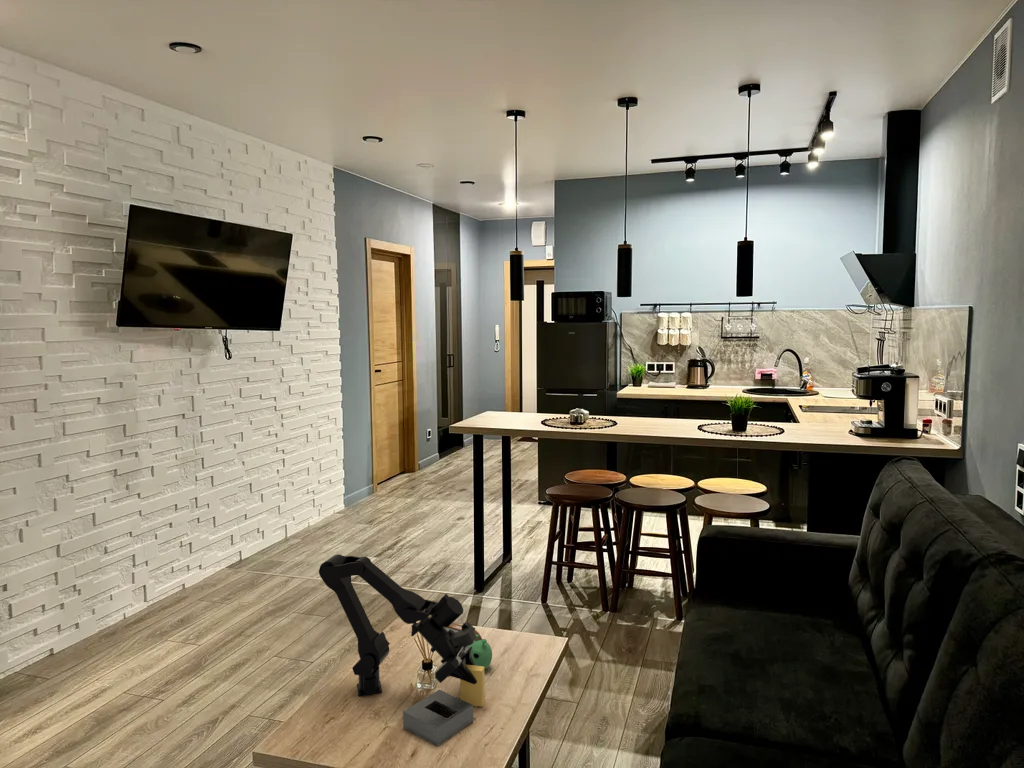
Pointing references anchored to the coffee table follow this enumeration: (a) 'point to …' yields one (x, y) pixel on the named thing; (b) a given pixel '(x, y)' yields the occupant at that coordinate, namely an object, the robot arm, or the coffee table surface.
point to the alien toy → (481, 653)
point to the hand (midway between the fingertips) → (477, 680)
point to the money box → (437, 717)
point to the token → (474, 687)
